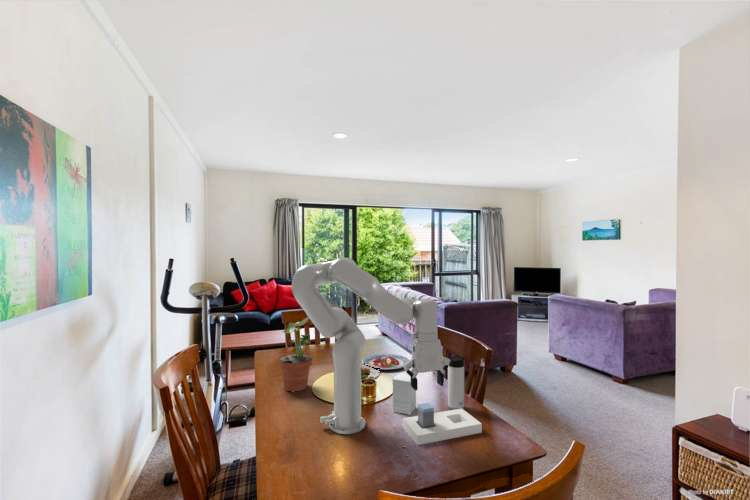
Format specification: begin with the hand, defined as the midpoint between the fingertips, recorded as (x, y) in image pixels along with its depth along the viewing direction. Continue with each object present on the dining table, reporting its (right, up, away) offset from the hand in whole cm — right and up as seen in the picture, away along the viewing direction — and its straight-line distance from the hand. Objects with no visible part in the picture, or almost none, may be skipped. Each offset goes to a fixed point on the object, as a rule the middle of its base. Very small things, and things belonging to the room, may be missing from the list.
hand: (427, 386), depth 117 cm
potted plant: (-54, -16, +39) cm, 68 cm away
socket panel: (+5, -16, +2) cm, 16 cm away
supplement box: (-6, -16, +17) cm, 24 cm away
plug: (-1, -16, 0) cm, 16 cm away
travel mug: (+14, -16, +19) cm, 28 cm away
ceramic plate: (-12, -17, +71) cm, 74 cm away
